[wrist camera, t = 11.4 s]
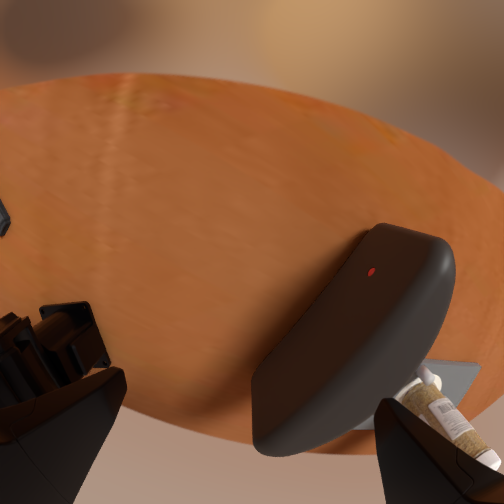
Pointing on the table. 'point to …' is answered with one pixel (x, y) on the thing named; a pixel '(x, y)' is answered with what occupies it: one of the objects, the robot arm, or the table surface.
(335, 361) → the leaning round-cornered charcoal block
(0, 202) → the usb stick
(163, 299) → the table surface
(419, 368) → the pin board
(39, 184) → the table surface
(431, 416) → the sprinkles bottle
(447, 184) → the table surface
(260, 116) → the table surface
